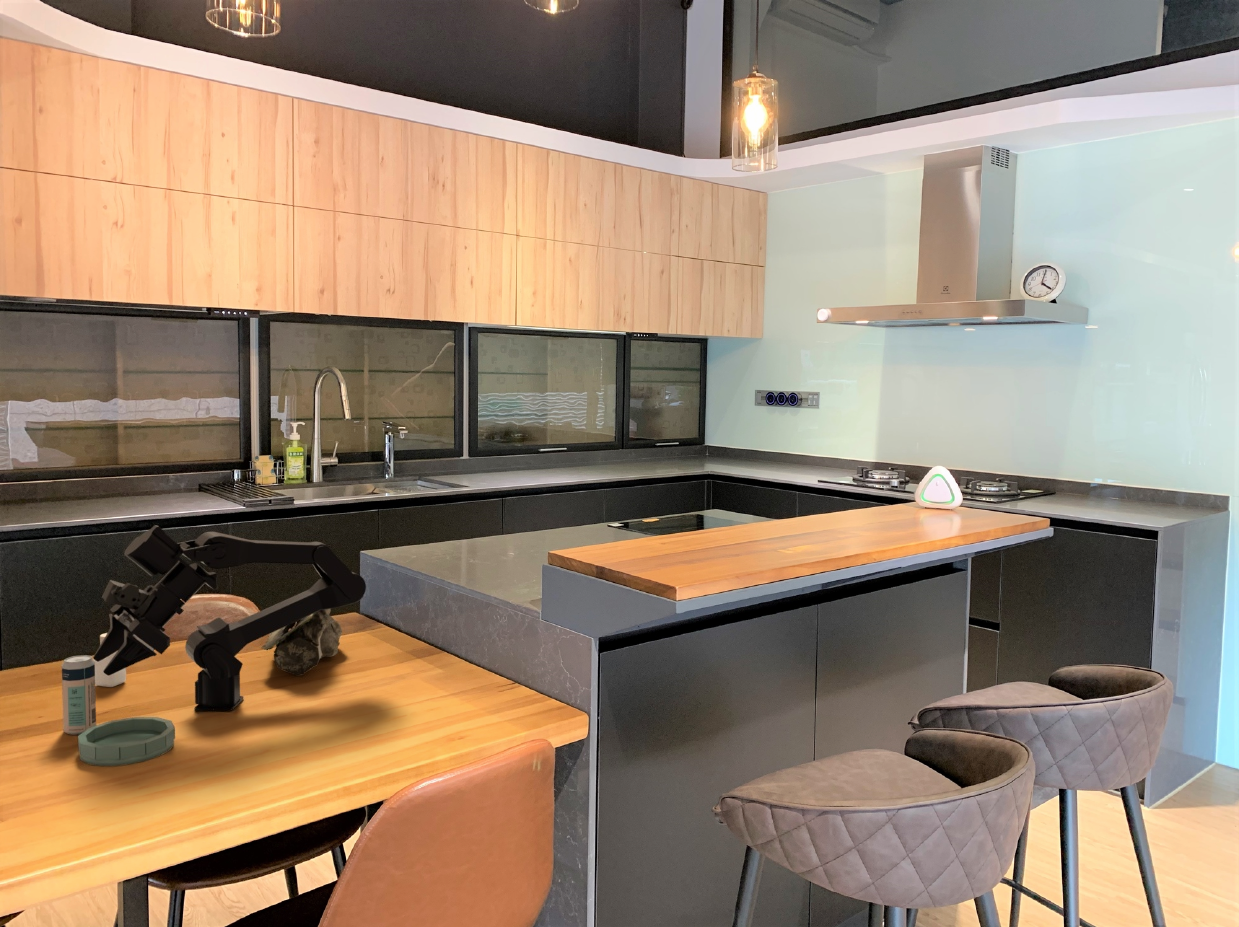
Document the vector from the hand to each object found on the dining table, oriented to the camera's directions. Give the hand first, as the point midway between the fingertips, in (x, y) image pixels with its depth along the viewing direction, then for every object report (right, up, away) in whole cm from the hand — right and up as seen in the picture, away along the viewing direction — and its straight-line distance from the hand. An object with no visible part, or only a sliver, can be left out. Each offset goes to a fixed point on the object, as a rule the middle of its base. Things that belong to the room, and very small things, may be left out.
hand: (100, 666), depth 153 cm
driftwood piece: (+20, -8, +39) cm, 44 cm away
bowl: (+9, -11, -8) cm, 16 cm away
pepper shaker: (-10, -8, +22) cm, 26 cm away
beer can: (-3, -10, -1) cm, 11 cm away
